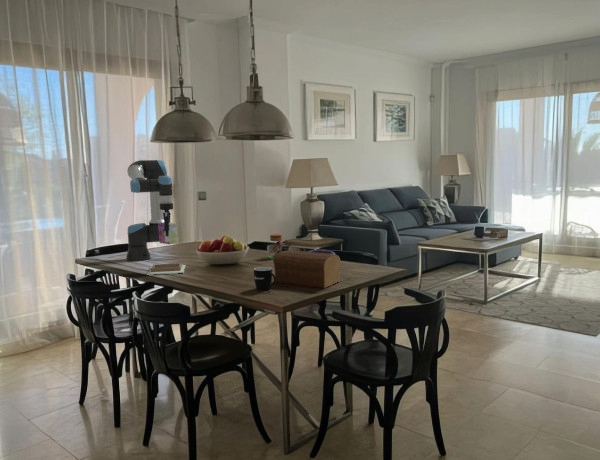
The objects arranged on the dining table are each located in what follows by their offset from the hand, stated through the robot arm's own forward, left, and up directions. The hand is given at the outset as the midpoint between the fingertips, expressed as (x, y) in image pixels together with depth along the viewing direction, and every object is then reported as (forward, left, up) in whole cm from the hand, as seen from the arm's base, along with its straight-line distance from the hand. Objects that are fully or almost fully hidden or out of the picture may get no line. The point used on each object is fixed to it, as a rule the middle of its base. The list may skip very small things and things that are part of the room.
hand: (168, 240), depth 302 cm
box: (0, 0, -2) cm, 2 cm away
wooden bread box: (+50, +73, -18) cm, 90 cm away
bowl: (+18, +87, -18) cm, 90 cm away
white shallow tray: (+1, -1, -18) cm, 18 cm away
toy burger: (-25, +67, -18) cm, 73 cm away
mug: (+60, +51, -18) cm, 80 cm away
